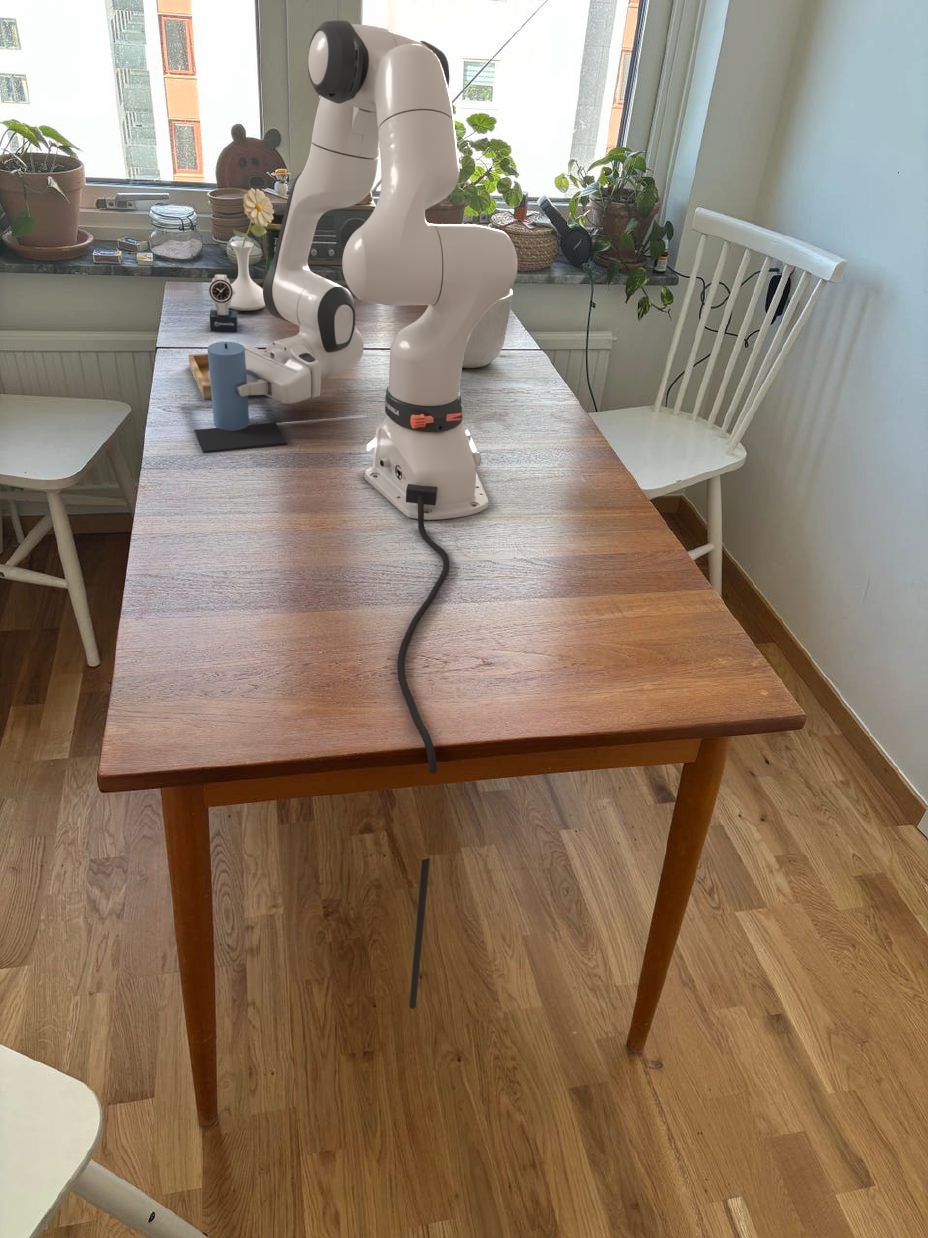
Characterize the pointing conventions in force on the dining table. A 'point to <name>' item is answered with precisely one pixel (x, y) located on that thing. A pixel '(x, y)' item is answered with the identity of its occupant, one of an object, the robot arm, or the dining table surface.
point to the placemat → (240, 437)
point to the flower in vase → (245, 289)
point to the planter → (488, 335)
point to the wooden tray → (201, 373)
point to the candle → (228, 385)
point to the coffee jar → (273, 232)
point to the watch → (222, 305)
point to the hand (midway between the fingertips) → (224, 383)
